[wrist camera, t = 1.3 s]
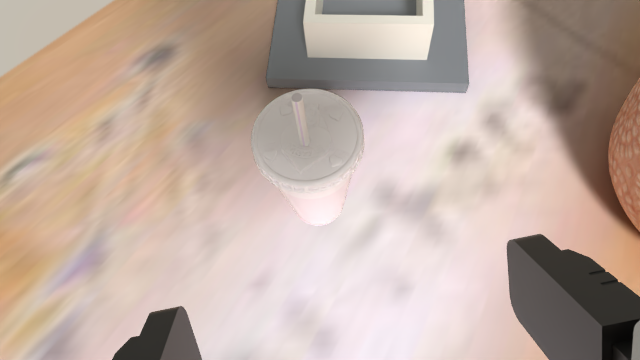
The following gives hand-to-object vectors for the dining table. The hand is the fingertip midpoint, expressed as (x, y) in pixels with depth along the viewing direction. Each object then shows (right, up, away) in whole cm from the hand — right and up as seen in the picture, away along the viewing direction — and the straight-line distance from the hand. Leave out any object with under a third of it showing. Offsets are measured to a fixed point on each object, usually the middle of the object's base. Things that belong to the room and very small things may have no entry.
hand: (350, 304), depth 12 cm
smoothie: (-1, +1, +24) cm, 24 cm away
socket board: (+3, +17, +31) cm, 35 cm away
